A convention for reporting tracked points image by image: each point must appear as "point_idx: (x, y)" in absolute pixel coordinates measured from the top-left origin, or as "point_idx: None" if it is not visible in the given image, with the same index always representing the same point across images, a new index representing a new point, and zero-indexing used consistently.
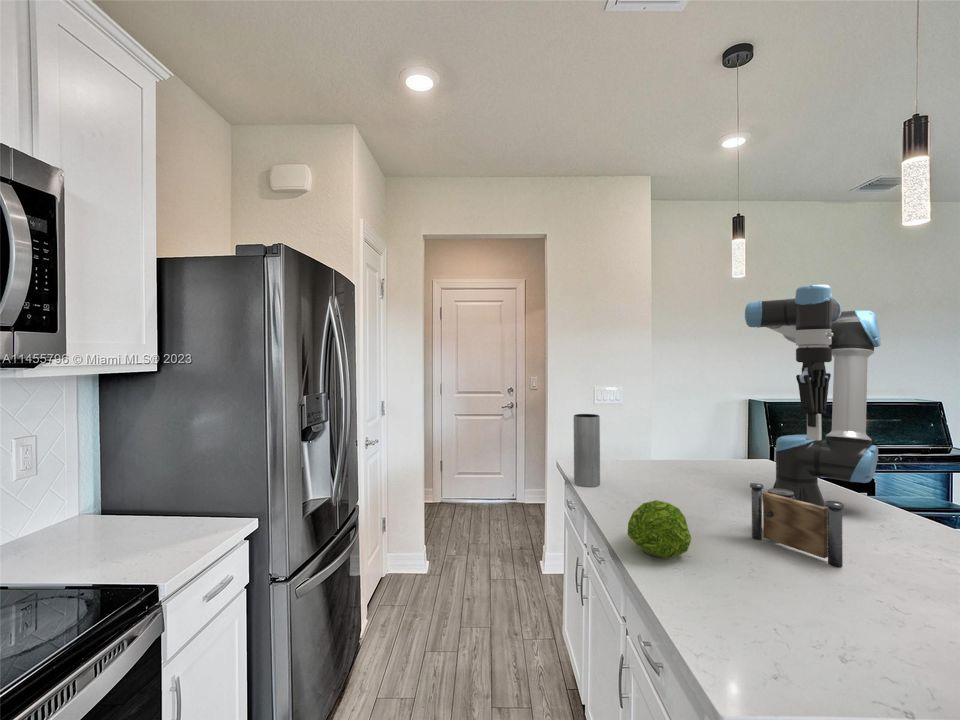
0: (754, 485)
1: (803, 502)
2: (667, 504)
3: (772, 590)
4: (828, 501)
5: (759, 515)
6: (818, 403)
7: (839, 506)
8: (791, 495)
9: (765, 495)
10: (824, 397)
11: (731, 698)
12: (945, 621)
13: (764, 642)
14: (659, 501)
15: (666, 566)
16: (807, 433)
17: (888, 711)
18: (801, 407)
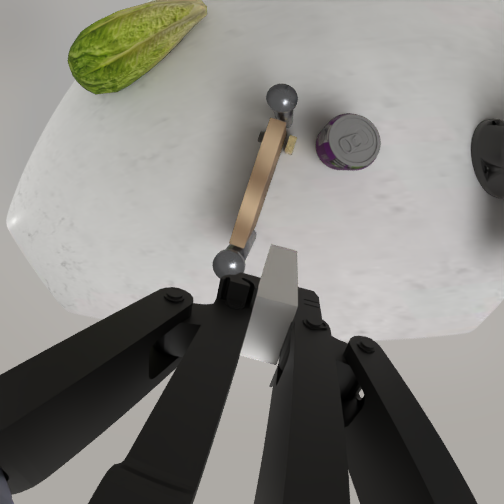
0: (268, 96)
1: (251, 203)
2: (82, 53)
3: (117, 194)
4: (232, 255)
5: (277, 118)
6: (274, 404)
7: (216, 274)
8: (347, 163)
9: (268, 123)
10: (348, 455)
11: (10, 223)
12: None
13: (47, 218)
14: (86, 40)
15: None
16: (268, 253)
17: (45, 285)
18: (145, 297)
